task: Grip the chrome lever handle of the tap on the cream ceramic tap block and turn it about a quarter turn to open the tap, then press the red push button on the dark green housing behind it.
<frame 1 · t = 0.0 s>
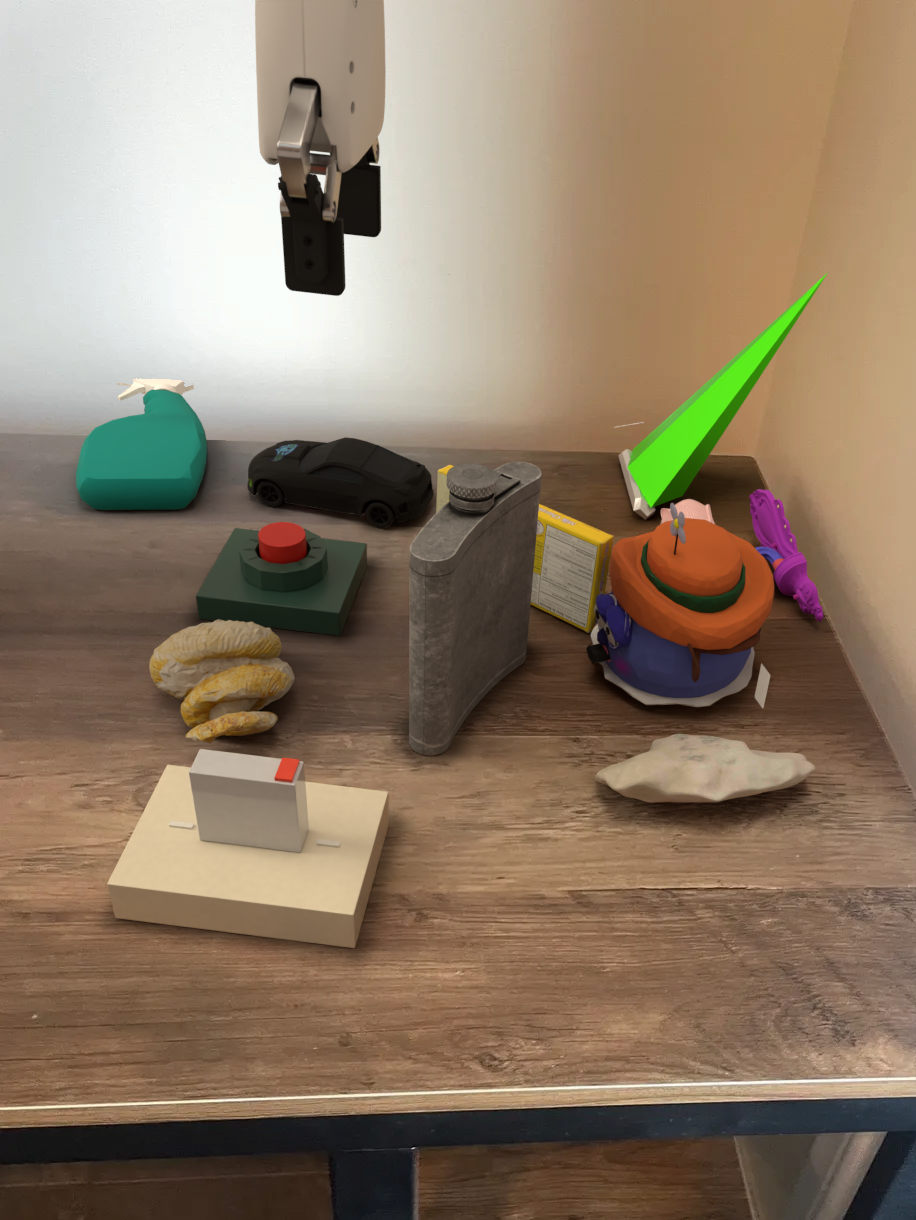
hand: (336, 260, 67), 30 cm above the table, tool pointing down, fingers open, 9 cm apart
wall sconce: (786, 666, 90), on the table, touching toy
toy: (665, 661, 90), on the table, touching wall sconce
stone tool: (598, 776, 76), point 2 cm above the table
candy box: (515, 592, 96), on the table
toy car: (340, 499, 105), on the table
button: (282, 543, 90), point 4 cm above the table, slide at 0.1 cm
spray bottle: (135, 498, 99), point 2 cm above the table
cream yellow lumpy piece: (225, 701, 82), on the table
tap handle: (250, 799, 67), point 6 cm above the table, hinge at 0.0°
paper cone: (837, 277, 98), point 21 cm above the table
tap block: (259, 869, 71), on the table
button box: (286, 591, 93), on the table
flask: (465, 697, 85), on the table
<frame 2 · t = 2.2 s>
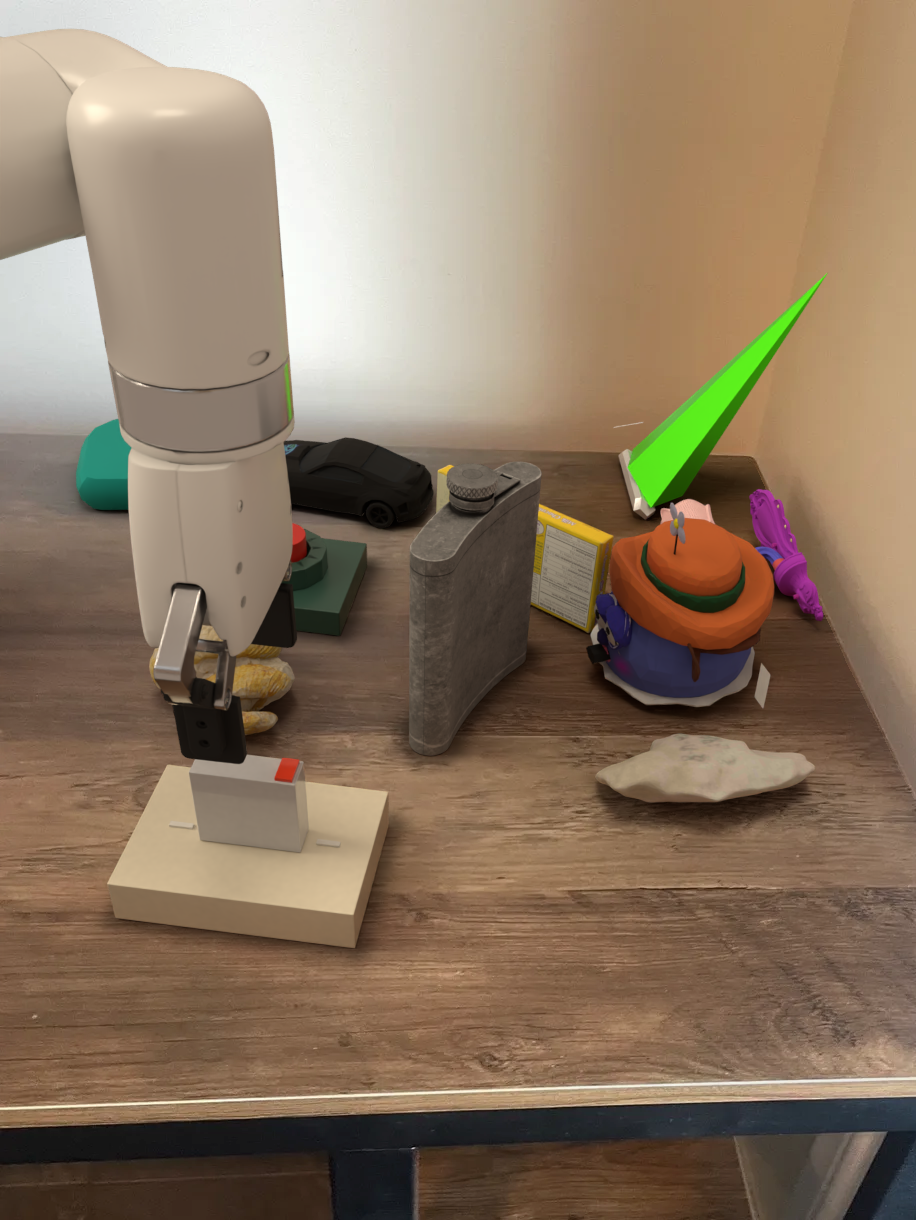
hand: (243, 696, 62), 14 cm above the table, tool pointing down, fingers open, 9 cm apart
nothing on the table moved.
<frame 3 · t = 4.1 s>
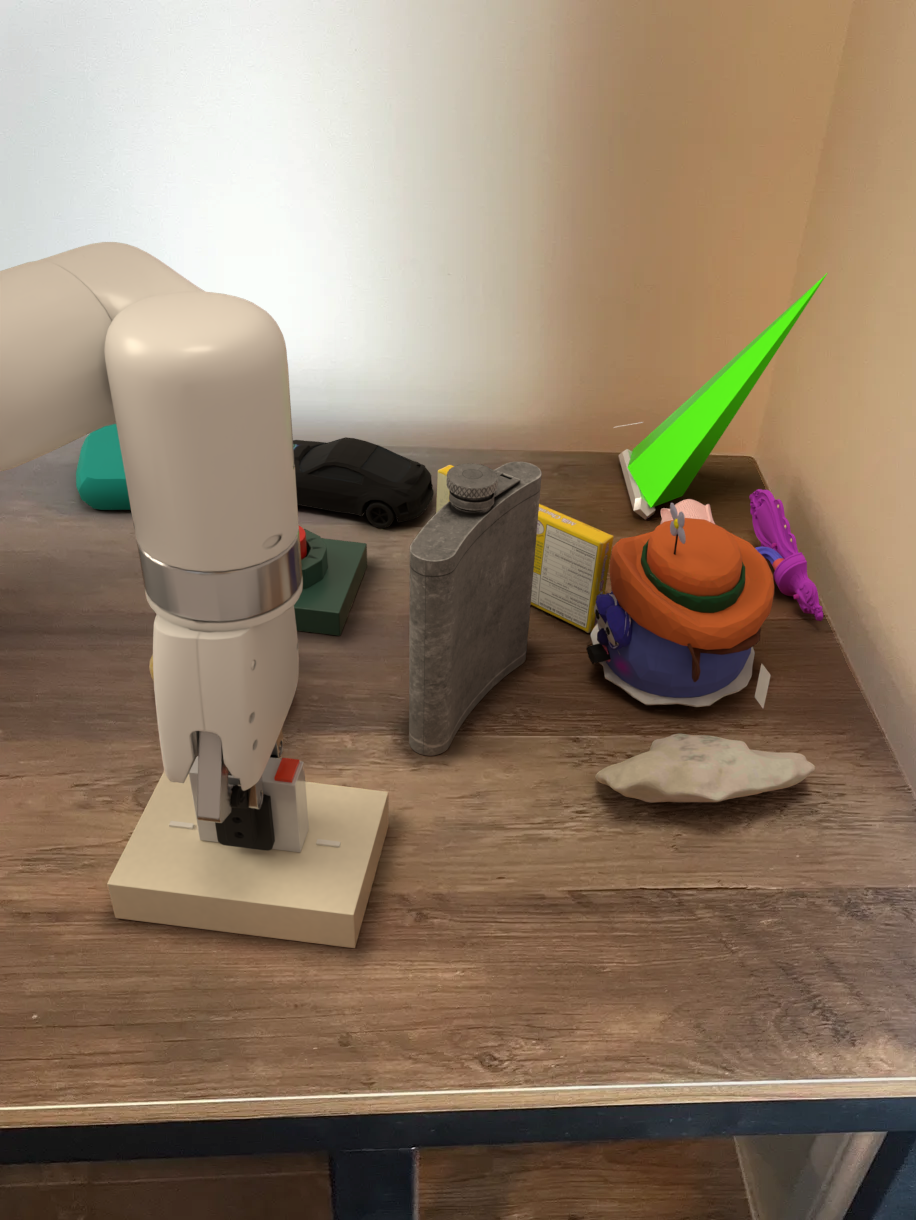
hand: (253, 825, 68), 4 cm above the table, tool pointing down, fingers closed on tap handle, 2 cm apart
tap handle: (250, 799, 67), point 6 cm above the table, hinge at 0.0°, touching gripper
everything else where it was.
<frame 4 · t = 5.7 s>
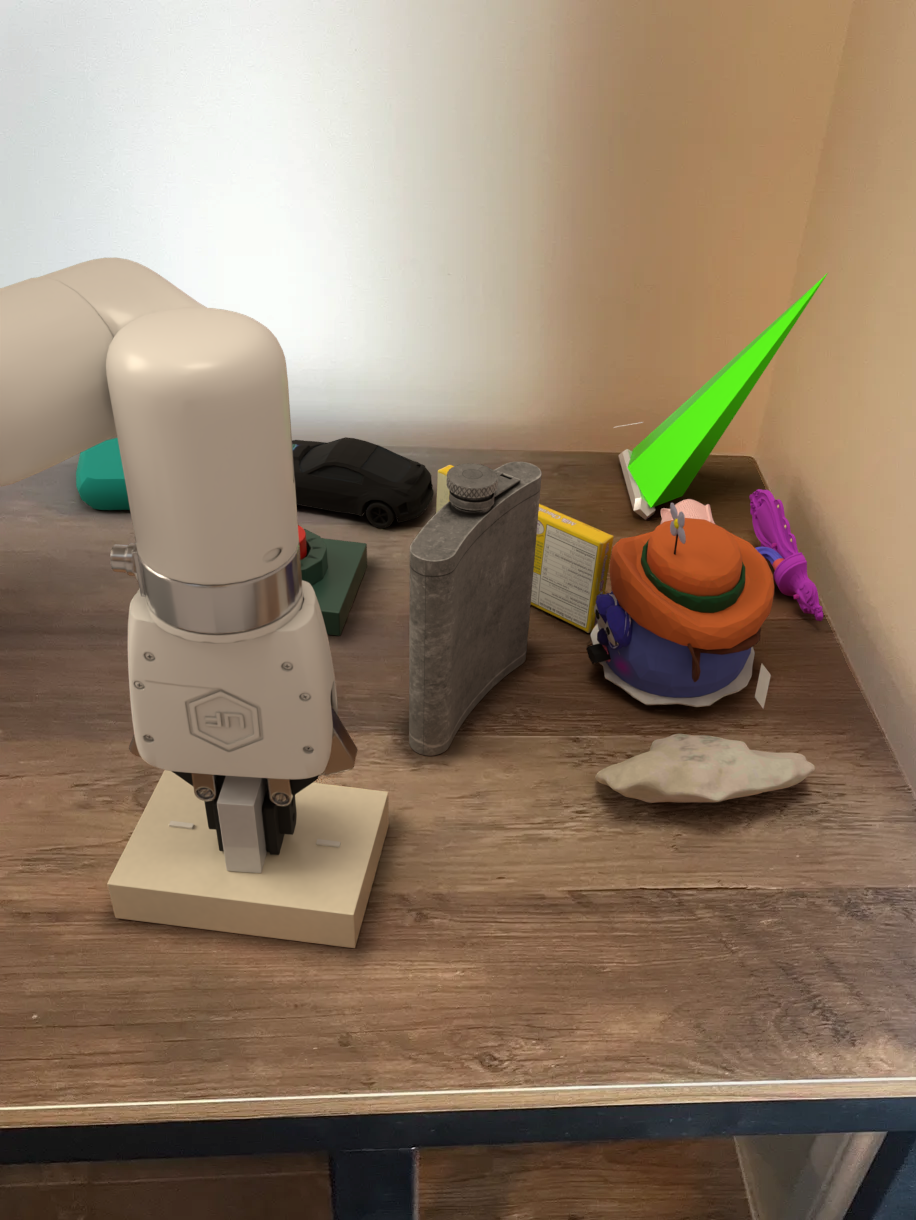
hand: (254, 834, 69), 3 cm above the table, tool pointing down, fingers closed on tap handle, 2 cm apart
tap handle: (250, 799, 67), point 6 cm above the table, hinge at 94.3°, touching gripper
everything else where it was.
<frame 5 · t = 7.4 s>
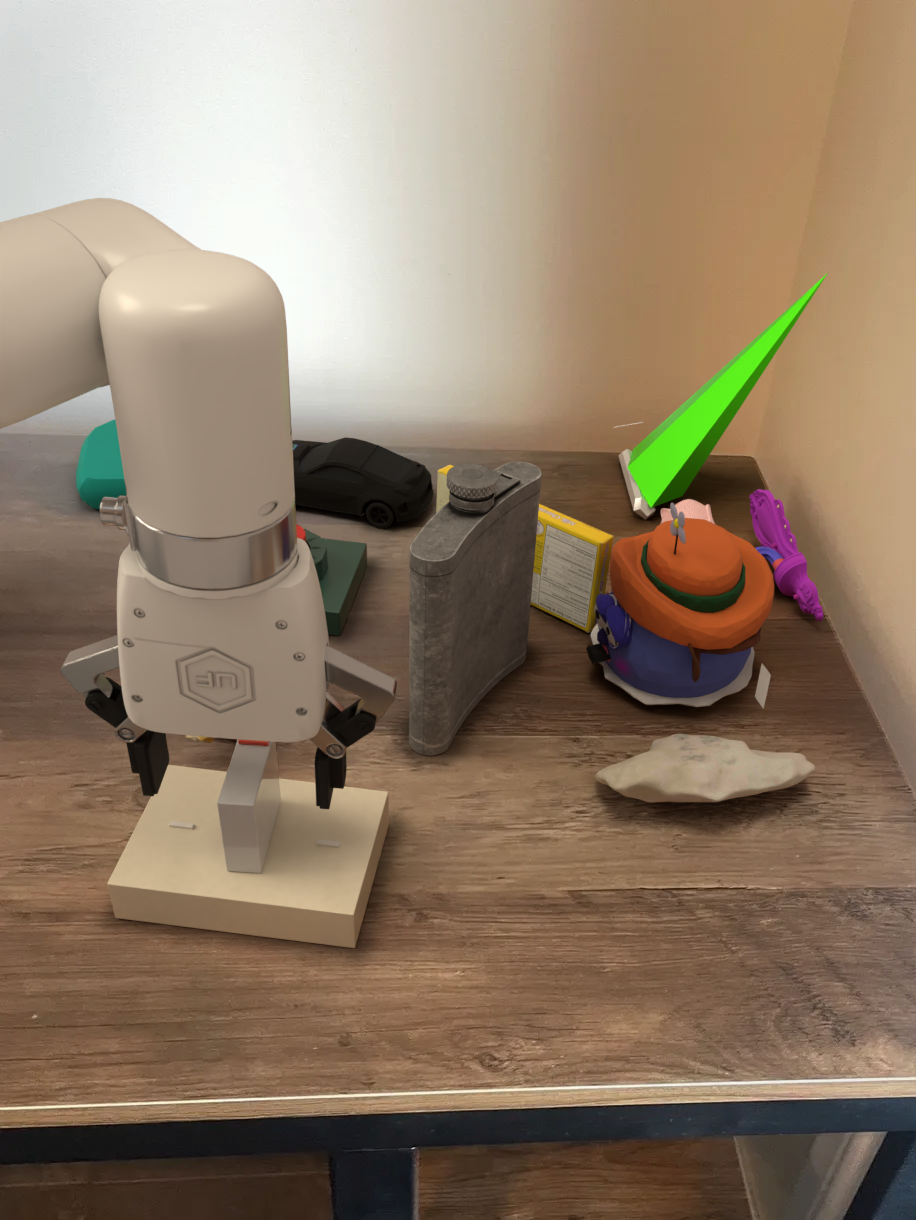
hand: (242, 785, 66), 7 cm above the table, tool pointing down, fingers open, 9 cm apart
tap handle: (250, 799, 67), point 6 cm above the table, hinge at 94.5°
everything else where it was.
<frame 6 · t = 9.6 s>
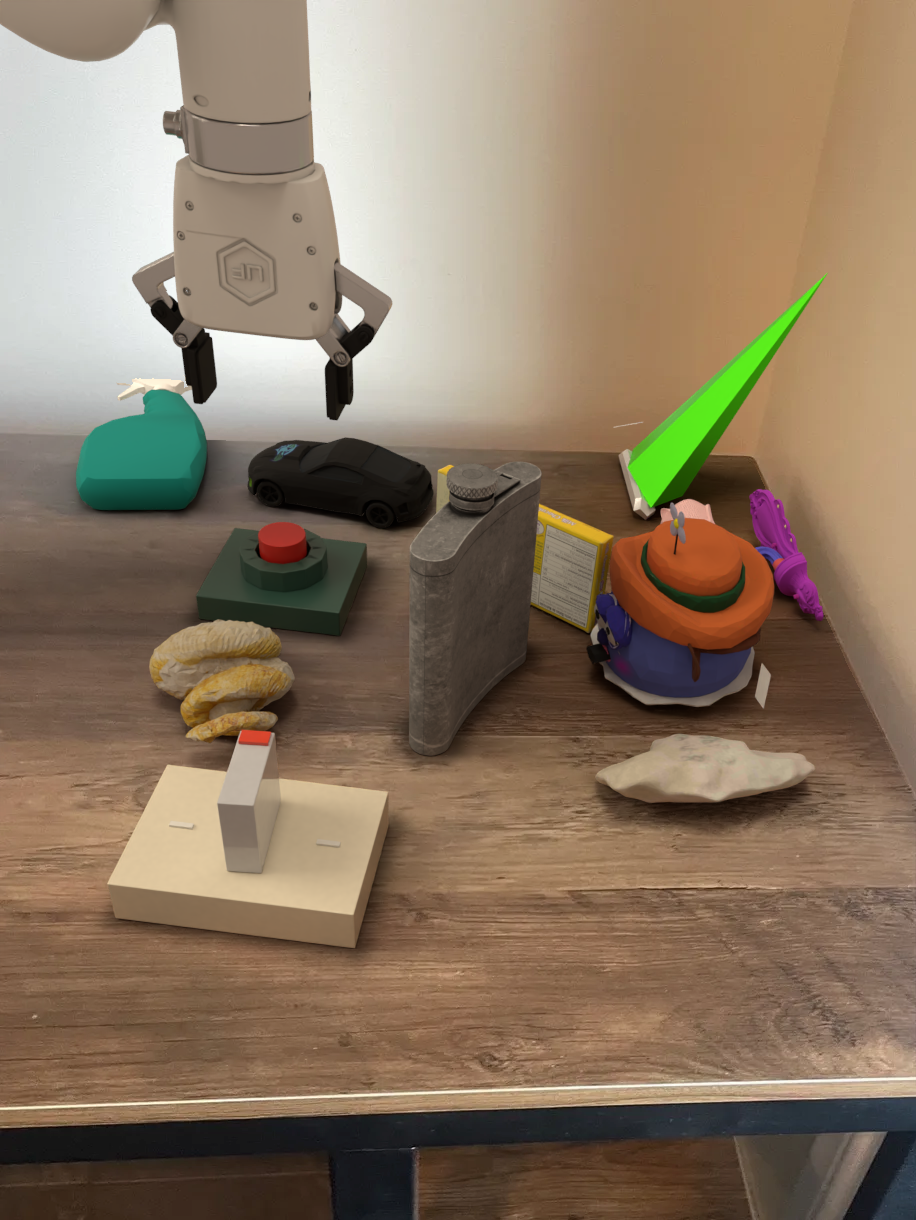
hand: (271, 403, 82), 16 cm above the table, tool pointing down, fingers open, 9 cm apart
nothing on the table moved.
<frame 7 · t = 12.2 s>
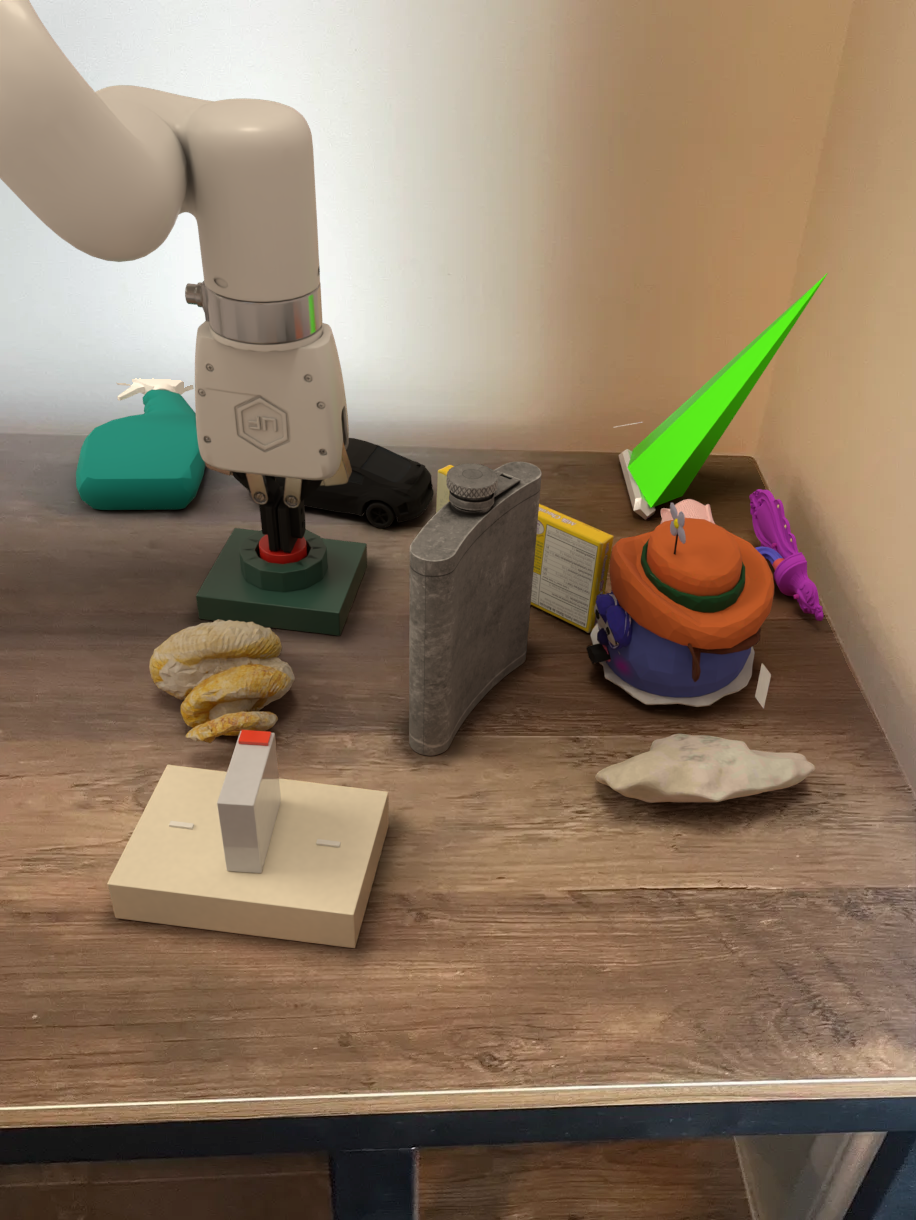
hand: (285, 542, 90), 5 cm above the table, tool pointing down, fingers closed
button: (283, 552, 90), point 4 cm above the table, slide at -0.7 cm, touching gripper
everything else where it was.
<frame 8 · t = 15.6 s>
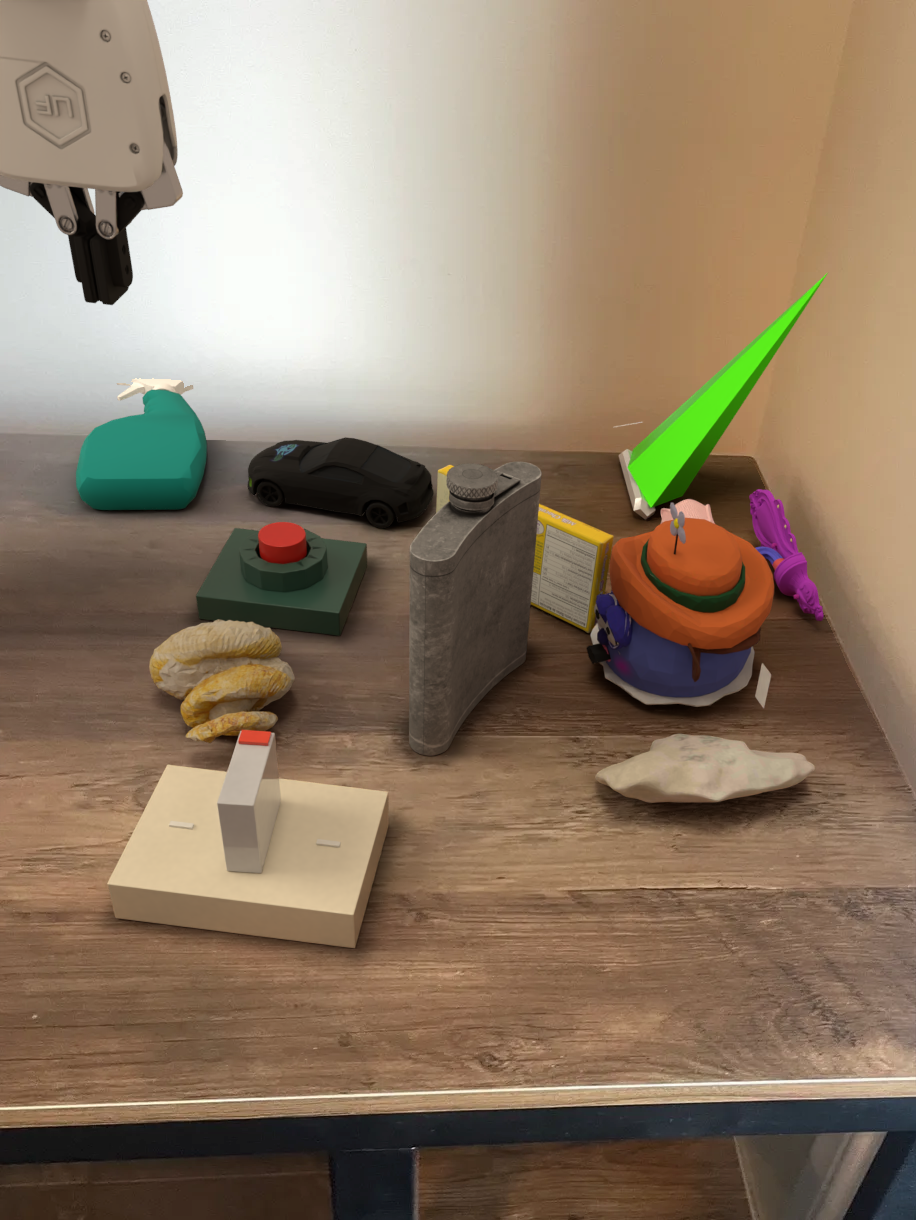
hand: (107, 295, 72), 25 cm above the table, tool pointing down, fingers closed
button: (282, 543, 90), point 4 cm above the table, slide at 0.1 cm
everything else where it was.
at the end: tap handle at +94° (first picture: +0°); button pushed in 1.1 cm at the most during the clip, back to where it started at the end; button slide at 0.1 cm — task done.
